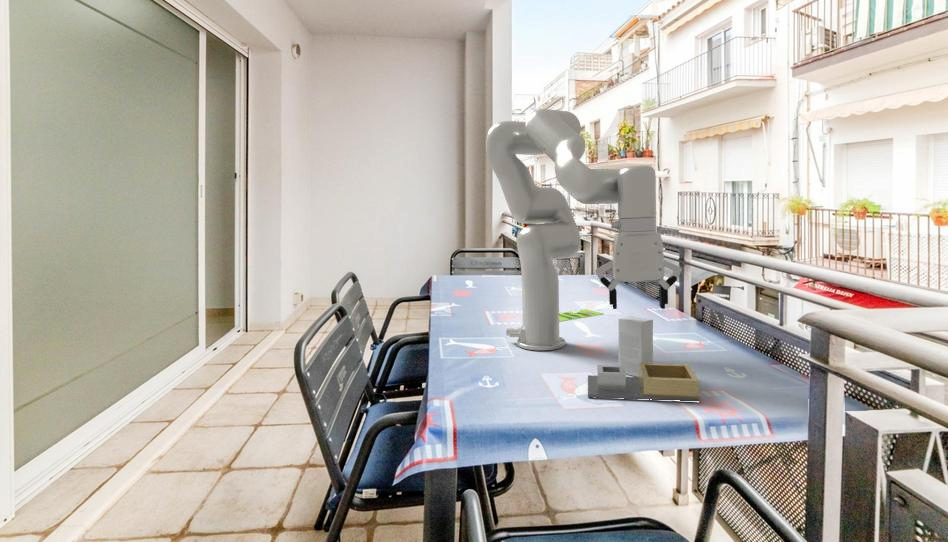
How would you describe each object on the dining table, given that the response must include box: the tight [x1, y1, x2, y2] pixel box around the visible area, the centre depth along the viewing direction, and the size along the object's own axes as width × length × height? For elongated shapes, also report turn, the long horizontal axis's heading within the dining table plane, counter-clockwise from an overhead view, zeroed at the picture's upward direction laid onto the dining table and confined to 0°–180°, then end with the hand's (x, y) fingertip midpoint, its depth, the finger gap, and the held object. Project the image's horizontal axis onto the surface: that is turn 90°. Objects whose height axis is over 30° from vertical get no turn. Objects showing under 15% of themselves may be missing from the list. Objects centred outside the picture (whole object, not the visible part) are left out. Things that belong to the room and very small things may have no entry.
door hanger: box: [559, 308, 604, 323], centre depth 171 cm, size 9×1×25 cm
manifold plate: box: [587, 363, 701, 402], centre depth 103 cm, size 20×11×4 cm, turn 78°
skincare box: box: [618, 315, 654, 377], centre depth 113 cm, size 6×4×12 cm
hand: (638, 307), depth 111 cm, fingers open, 9 cm apart
